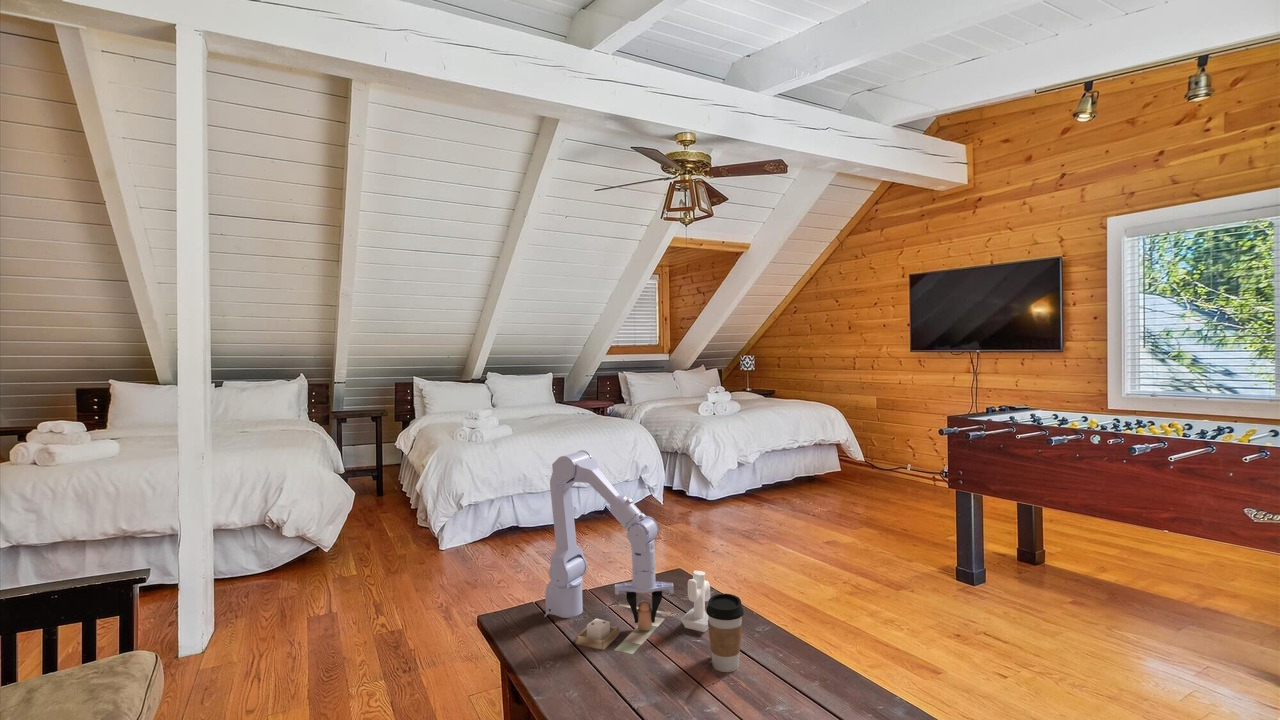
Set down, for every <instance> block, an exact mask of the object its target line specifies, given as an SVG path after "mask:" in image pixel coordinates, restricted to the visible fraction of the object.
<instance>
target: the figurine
mask: <svg viewBox="0 0 1280 720" xmlns="http://www.w3.org/2000/svg"><path fill="white" fill-rule="evenodd" d="M687 597H688V599H689V601H690V602H693V607H692V608H691V609H689V610H688V611H687V612H686V613H685V614H684V615H683V616H682V617H680V621H681V623H682V624H683V627H684V628H685V629H690V630H692V631H696V632H702V633H706V632H707V631H709V627H708V615H707V613H706V608H705V607H706V605H705V604H706V603H705V602H709V599H710V598H711V585H710V582H709V581H708V580H706V572H705V571H701V570H694V571H693V572H692V579H691V578H690V579H688V581H687Z"/></svg>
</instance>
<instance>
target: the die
mask: <svg viewBox="0 0 1280 720" xmlns="http://www.w3.org/2000/svg"><path fill="white" fill-rule="evenodd" d="M610 626H611V622H610V621H608V620H605V619H600V618H597V617H596V618H595V619H593V620H592V621H591V622H589V623H588V624H587V623H586V627H587V638H592V639H597V640H602V641H603V640H604V639H605V638H606V637H607V636H608V635H609V634H610Z"/></svg>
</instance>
